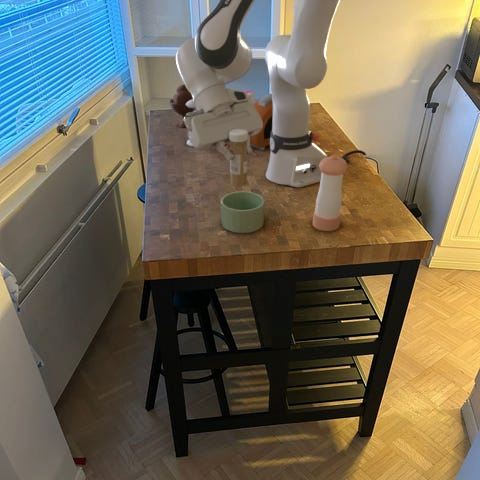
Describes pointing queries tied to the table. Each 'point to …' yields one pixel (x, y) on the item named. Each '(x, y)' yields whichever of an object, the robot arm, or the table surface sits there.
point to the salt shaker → (329, 194)
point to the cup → (242, 211)
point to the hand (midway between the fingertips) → (240, 156)
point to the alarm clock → (266, 114)
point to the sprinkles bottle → (238, 157)
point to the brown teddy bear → (181, 103)
